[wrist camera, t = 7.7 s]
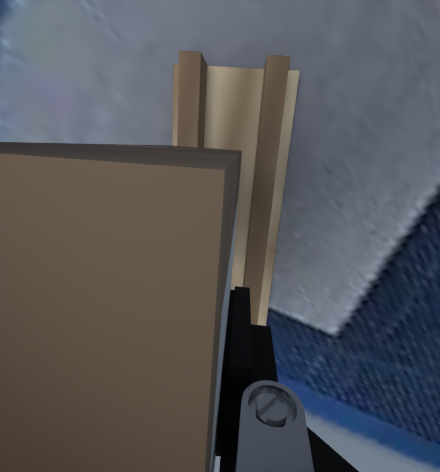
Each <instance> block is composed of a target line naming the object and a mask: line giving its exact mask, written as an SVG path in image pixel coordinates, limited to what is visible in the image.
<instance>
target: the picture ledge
mask: <svg viewBox="0 0 440 472" xmlns="http://www.w3.org/2000/svg"><path fill="white" fill-rule="evenodd" d="M289 62H290V56H277V55H267V59H266V63H265V68H264V69H258V68H239V67H219V66H207V64H206V62H205V60H204V58H203V55H202V53H201V52H194V51H179V64H173V130H172V146H185V147H199V148H214V149H228V150H242V160H241V172H240V184H239V195H238V207H237V219H236V231H235V242H234V254H233V266H232V278H231V290H235V286H239V287H249V288H250V307H251V324H254V325H263V326H266V320H267V313H268V305H269V297H270V290H271V282H272V275H273V267H274V260H275V252H276V245H277V237H278V230H279V222H280V215H281V207H282V200H283V192H284V185H285V177H286V170H287V162H288V154H289V147H290V139H291V132H292V124H293V117H294V109H295V102H296V94H297V87H298V79H299V72H300V71H297V70H289Z"/></svg>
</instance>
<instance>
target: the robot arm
mask: <svg viewBox="0 0 440 472" xmlns="http://www.w3.org/2000/svg"><path fill="white" fill-rule="evenodd" d="M215 456H221V459H220V472H358V471H357V470H356V469H355V468H354V467H353V466H352V465H351V464H349V463H348V462H347V461H346V460H345V459H343V458H342V457H341V456H340V455H339V454H338V453H337V452H336V451H334V450H333V449H332V448H331V447H330V446H329V445H328V444H326V443H325V442H324V441H323V440H322V439H320V437H318V436H317V435H316V434H315V433H314V432H312V431H311V430H310V429H309V428H308V427H307V425H306V419H305V413H304V408H303V405H302V403H301V401H300V399H299V398H298V396H297V395H296V394H295V393H294V392H293V391H292V390H291V389H290V388H288V387H287V386H285V385H283V384H281V383H278V378H277V371H276V364H275V357H274V350H273V342H272V335H271V329H270V326H263V325H254V324H251V307H250V288H249V287H239V286H235V290H230V297H229V307H228V316H227V326H226V335H225V345H224V355H223V365H222V376H221V388H220V400H219V412H218V424H217V436H216V448H215Z"/></svg>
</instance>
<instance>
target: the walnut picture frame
mask: <svg viewBox="0 0 440 472" xmlns="http://www.w3.org/2000/svg"><path fill="white" fill-rule="evenodd" d="M241 160H242V150H228V149H214V148H199V147H185V146H165V145H116V144H67V143H18V142H0V472H214V471H215V460H216V456H215V448H216V436H217V424H218V412H219V400H220V388H221V376H222V365H223V355H224V345H225V335H226V326H227V316H228V307H229V297H230V290H231V278H232V266H233V254H234V242H235V231H236V219H237V207H238V195H239V184H240V172H241Z"/></svg>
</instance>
